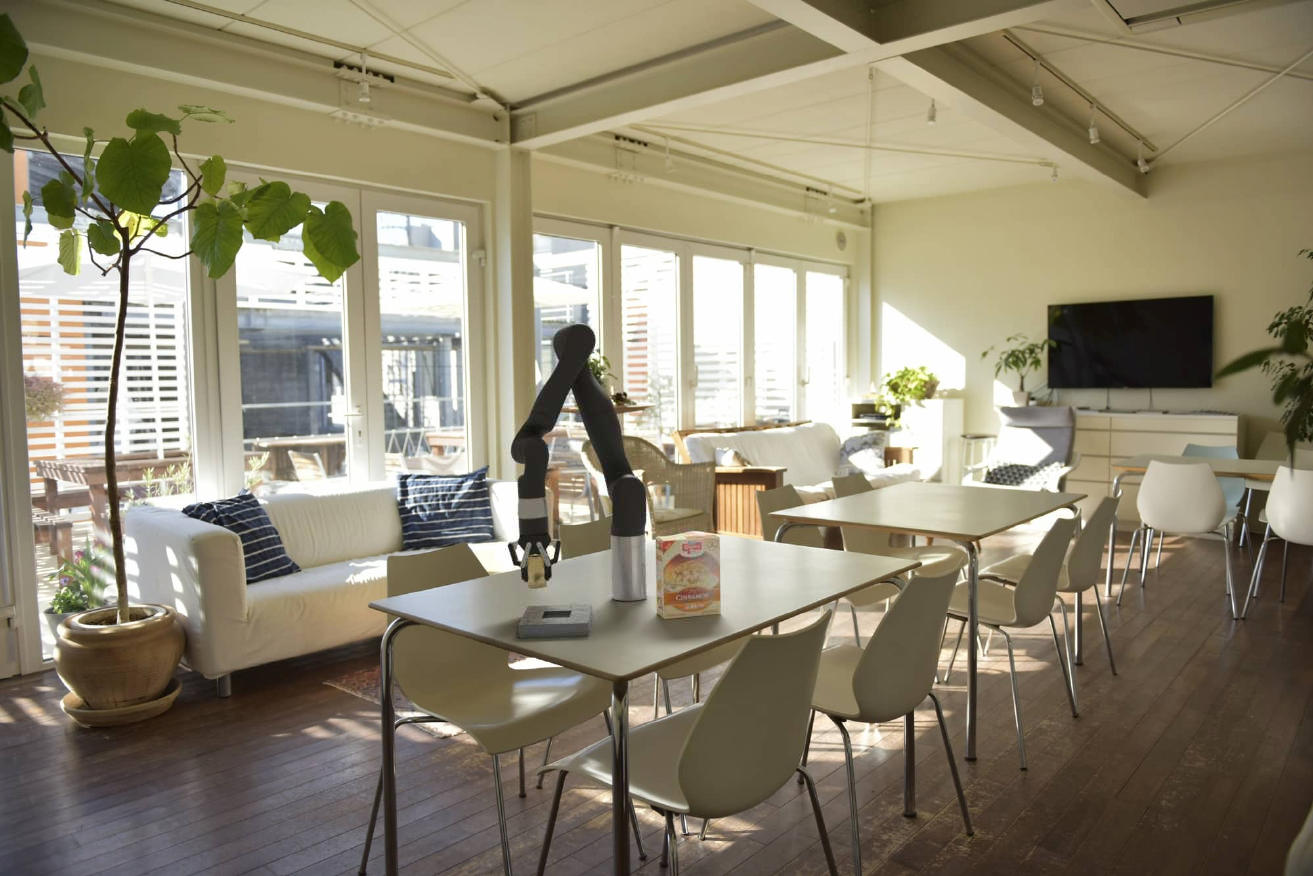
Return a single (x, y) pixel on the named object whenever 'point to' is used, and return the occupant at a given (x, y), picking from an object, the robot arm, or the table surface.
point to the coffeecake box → (688, 575)
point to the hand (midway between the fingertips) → (536, 580)
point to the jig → (556, 621)
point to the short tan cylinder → (536, 572)
